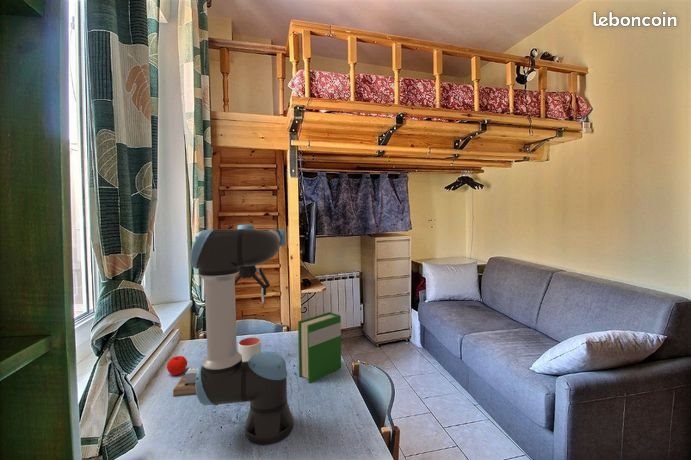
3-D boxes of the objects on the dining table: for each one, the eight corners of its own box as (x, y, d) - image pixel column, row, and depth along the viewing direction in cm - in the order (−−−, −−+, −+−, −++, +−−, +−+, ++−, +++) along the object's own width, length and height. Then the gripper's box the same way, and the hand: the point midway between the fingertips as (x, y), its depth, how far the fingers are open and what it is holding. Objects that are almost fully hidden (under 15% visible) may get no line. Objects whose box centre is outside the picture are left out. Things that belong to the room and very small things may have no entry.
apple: (181, 367, 142) (180, 351, 142) (191, 371, 138) (191, 355, 138) (163, 375, 135) (162, 358, 135) (173, 380, 131) (173, 362, 131)
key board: (249, 389, 123) (248, 383, 123) (173, 396, 119) (173, 390, 119) (253, 375, 134) (252, 369, 134) (183, 381, 130) (183, 375, 130)
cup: (264, 357, 151) (263, 337, 150) (256, 368, 141) (255, 346, 140) (244, 357, 152) (243, 337, 151) (235, 367, 142) (234, 345, 141)
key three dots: (199, 382, 123) (198, 372, 123) (185, 383, 123) (185, 373, 122) (202, 375, 128) (202, 365, 128) (189, 377, 127) (189, 367, 127)
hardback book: (309, 383, 127) (308, 325, 126) (299, 376, 133) (297, 321, 132) (341, 368, 140) (340, 315, 138) (330, 362, 145) (329, 311, 144)
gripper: (274, 255, 150) (275, 299, 151) (220, 257, 147) (222, 302, 148) (273, 258, 143) (274, 303, 144) (216, 259, 139) (217, 306, 140)
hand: (248, 302), depth 146 cm, fingers open, 13 cm apart
